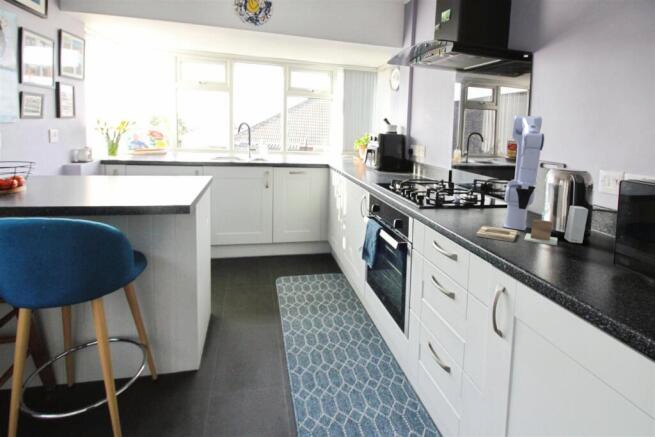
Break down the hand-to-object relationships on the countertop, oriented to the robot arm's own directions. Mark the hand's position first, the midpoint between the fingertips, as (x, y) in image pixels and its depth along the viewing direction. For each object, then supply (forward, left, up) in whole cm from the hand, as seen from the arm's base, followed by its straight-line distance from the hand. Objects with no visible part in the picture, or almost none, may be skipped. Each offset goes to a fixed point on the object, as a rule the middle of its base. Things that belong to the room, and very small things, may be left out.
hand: (522, 207), depth 155 cm
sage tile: (+1, +7, -10) cm, 13 cm away
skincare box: (-6, +17, -11) cm, 21 cm away
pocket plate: (+4, -7, -10) cm, 13 cm away
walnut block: (+1, +7, -10) cm, 12 cm away
